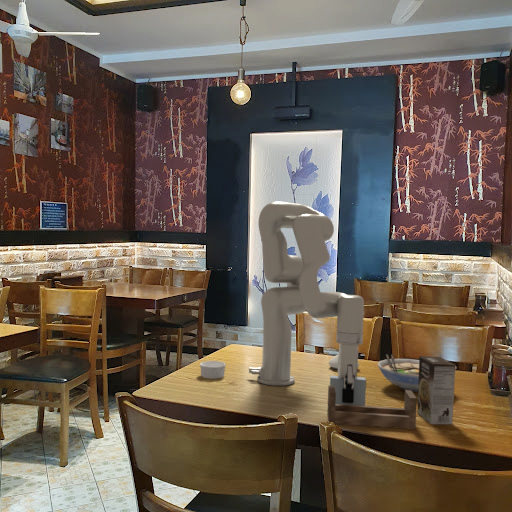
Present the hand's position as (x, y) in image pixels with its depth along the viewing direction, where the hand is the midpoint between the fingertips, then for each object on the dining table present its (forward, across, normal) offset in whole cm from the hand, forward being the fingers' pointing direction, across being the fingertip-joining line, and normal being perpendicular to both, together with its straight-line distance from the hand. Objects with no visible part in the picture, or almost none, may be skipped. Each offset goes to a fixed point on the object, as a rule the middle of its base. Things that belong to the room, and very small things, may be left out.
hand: (347, 400), depth 146 cm
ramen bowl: (+2, -22, +23) cm, 32 cm away
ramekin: (+2, -23, -44) cm, 50 cm away
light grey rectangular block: (+1, 0, 0) cm, 1 cm away
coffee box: (+2, +7, +23) cm, 24 cm away
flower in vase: (+2, -44, +3) cm, 44 cm away
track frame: (+1, +13, +5) cm, 14 cm away
